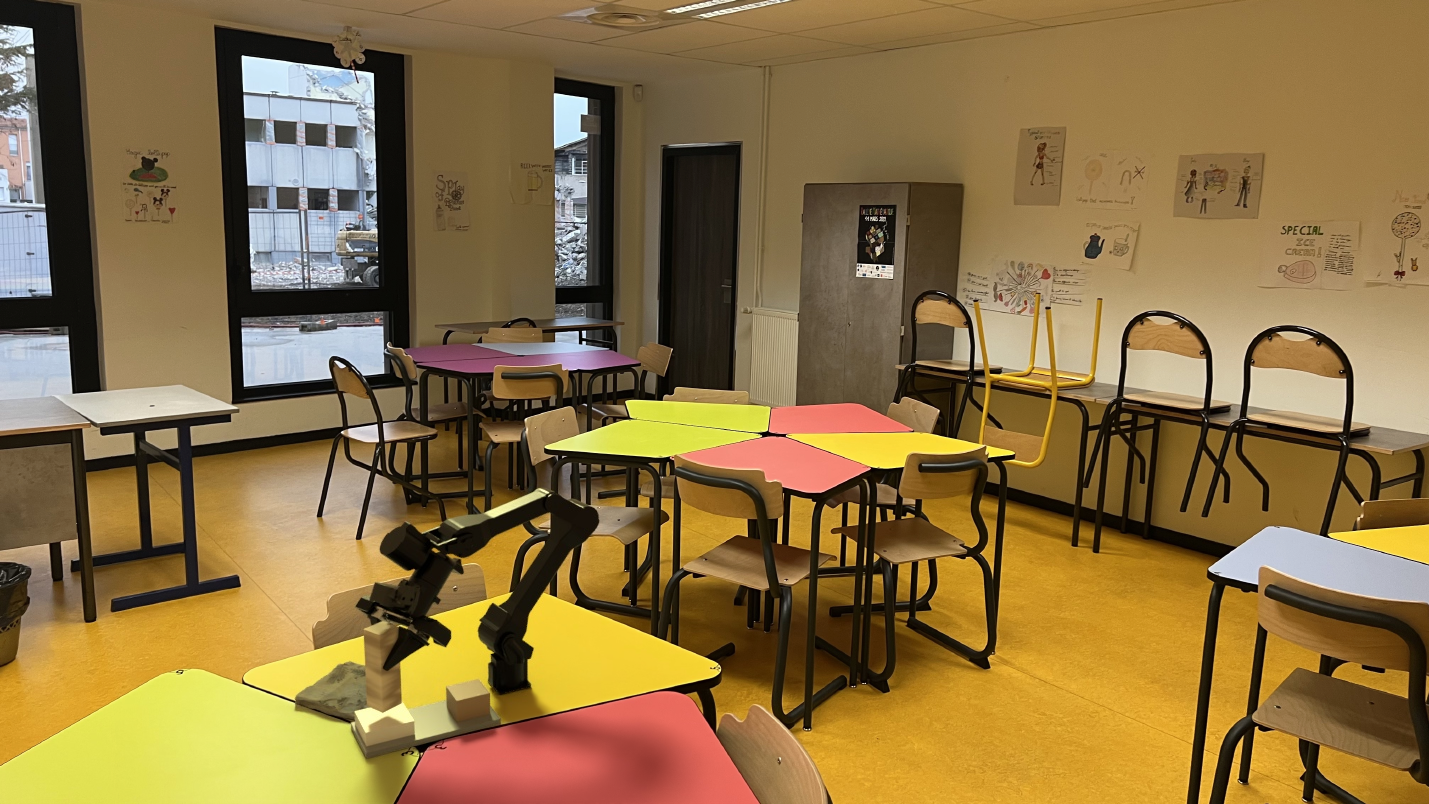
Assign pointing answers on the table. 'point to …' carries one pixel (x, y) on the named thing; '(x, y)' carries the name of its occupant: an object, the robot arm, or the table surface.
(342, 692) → the fossil rock
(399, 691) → the beech pillar
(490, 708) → the building board
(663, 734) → the table surface
